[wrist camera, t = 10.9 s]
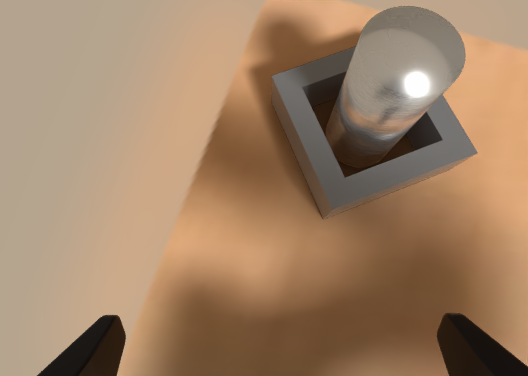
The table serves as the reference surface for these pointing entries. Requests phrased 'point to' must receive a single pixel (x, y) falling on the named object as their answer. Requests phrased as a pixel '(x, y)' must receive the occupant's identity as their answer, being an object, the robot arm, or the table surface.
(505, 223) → the table surface
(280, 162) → the table surface
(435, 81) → the steel shaft
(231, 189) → the table surface
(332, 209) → the grey square frame
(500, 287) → the table surface
